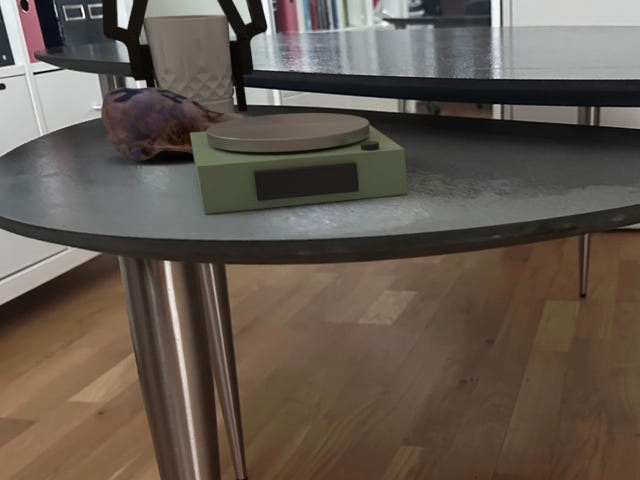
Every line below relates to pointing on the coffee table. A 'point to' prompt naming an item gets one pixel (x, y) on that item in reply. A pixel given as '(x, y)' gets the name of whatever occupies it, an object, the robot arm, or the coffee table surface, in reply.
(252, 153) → the scale
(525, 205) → the coffee table surface
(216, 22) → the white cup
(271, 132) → the scale pan
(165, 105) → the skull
